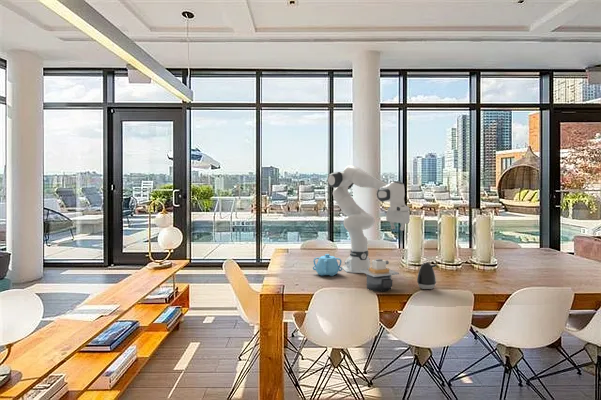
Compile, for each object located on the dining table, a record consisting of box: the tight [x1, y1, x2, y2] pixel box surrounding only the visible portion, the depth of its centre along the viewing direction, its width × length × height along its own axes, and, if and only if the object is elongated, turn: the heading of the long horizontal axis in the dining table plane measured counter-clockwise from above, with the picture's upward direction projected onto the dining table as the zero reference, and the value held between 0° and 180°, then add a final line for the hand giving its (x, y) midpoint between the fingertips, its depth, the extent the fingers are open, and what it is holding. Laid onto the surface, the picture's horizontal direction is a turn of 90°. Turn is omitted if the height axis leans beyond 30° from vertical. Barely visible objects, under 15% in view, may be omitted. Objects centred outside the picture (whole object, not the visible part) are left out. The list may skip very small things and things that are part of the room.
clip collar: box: [369, 267, 390, 273], centre depth 245 cm, size 8×9×2 cm
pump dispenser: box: [416, 261, 437, 290], centre depth 243 cm, size 10×10×15 cm
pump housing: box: [371, 258, 390, 270], centre depth 245 cm, size 5×9×7 cm, turn 111°
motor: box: [360, 268, 400, 292], centre depth 244 cm, size 18×16×10 cm
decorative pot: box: [312, 253, 343, 277], centre depth 282 cm, size 16×16×14 cm
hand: (397, 229), depth 265 cm, fingers open, 8 cm apart
